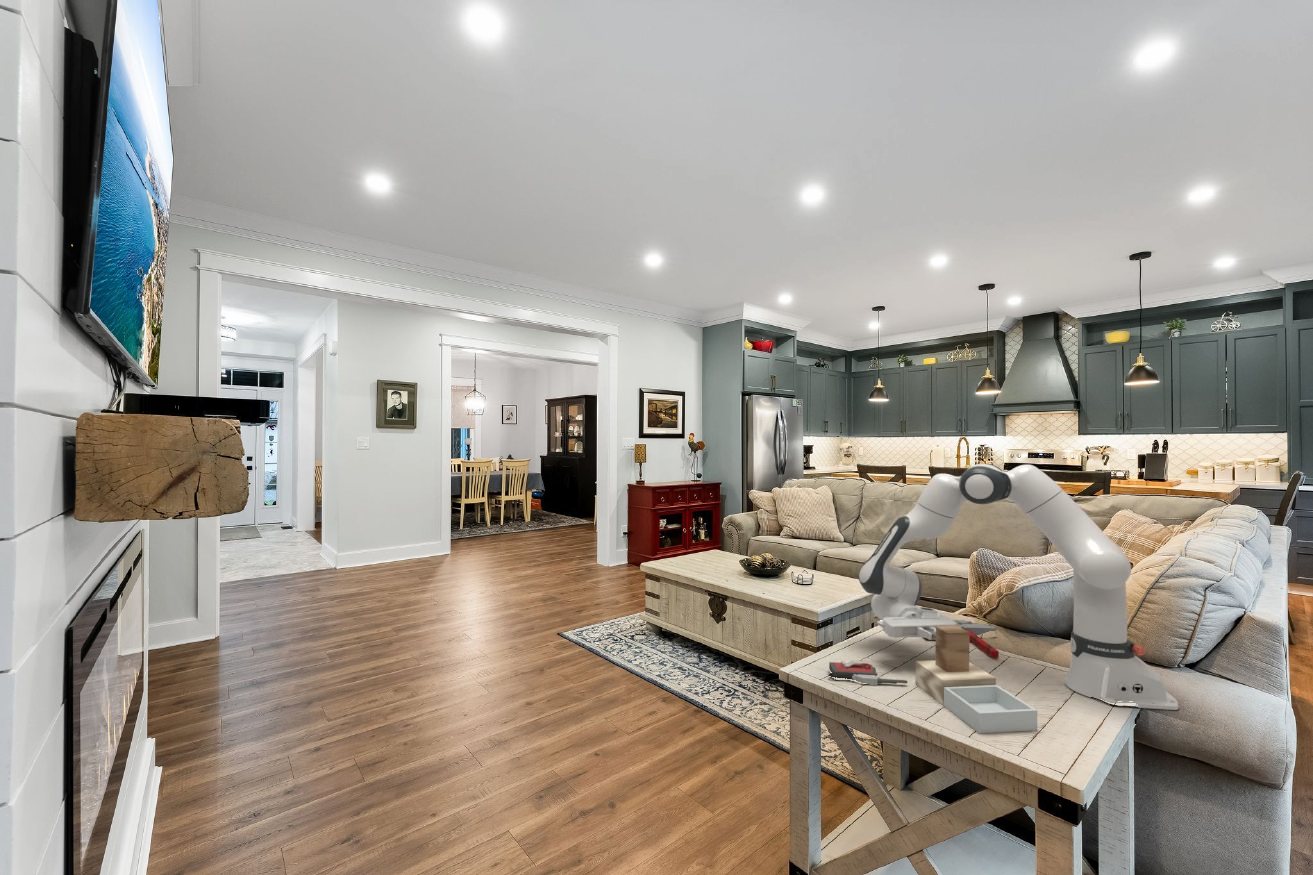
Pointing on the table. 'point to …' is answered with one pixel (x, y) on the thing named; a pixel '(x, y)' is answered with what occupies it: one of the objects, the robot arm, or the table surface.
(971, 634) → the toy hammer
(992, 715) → the grey bin
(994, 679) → the pale wood block
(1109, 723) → the table surface
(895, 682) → the toy chainsaw
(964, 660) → the walnut block
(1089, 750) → the table surface
